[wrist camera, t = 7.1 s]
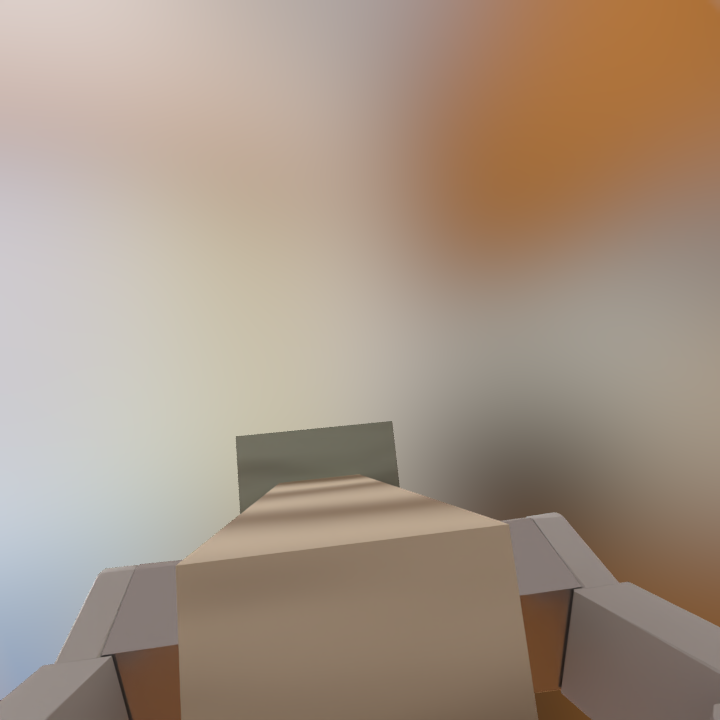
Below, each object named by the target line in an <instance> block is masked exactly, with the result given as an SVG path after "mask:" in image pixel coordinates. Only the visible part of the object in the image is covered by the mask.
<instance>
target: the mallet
mask: <svg viewBox="0 0 720 720" xmlns="http://www.w3.org/2000/svg"><path fill="white" fill-rule="evenodd" d="M236 449H237V465H238V482H239V500H240V515H239V516H237V517H236V518H235V519H234V520H232V521H231V522H230V523H229V524H227V525H226V526H225V527H224V528H222V529H221V530H220V531H219V532H217V533H216V534H215V535H214V536H212V537H211V538H210V539H209V540H207V541H206V542H205V543H204V544H202V545H201V546H200V547H199V548H197V549H196V550H195V551H193V552H192V553H191V554H190V555H188V556H187V557H186V558H185V559H183V560H182V561H181V562H180V563H178V564H177V565H176V589H177V617H178V645H179V672H180V700H181V720H538V716H537V710H536V703H535V696H534V689H533V682H532V675H531V669H530V662H529V655H528V649H527V642H526V635H525V629H524V622H523V615H522V608H521V602H520V595H519V588H518V582H517V575H516V568H515V561H514V555H513V548H512V541H511V535H510V528H509V524H507V523H504V522H501V521H498V520H495V519H492V518H488V517H486V516H483V515H480V514H477V513H474V512H471V511H468V510H465V509H462V508H459V507H455V506H453V505H450V504H447V503H444V502H441V501H438V500H435V499H432V498H429V497H426V496H423V495H420V494H417V493H414V492H411V491H408V490H405V489H402V488H400V487H399V477H398V469H397V460H396V451H395V443H394V433H393V425H392V421H389V422H379V423H368V424H359V425H348V426H338V427H329V428H317V429H307V430H297V431H287V432H276V433H266V434H257V435H247V436H236Z"/></svg>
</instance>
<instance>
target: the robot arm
mask: <svg viewBox="0 0 720 720" xmlns="http://www.w3.org/2000/svg"><path fill="white" fill-rule="evenodd" d="M501 522H504V523H507V524H509V528H510V535H511V541H512V548H513V555H514V561H515V568H516V575H517V582H518V588H519V595H520V602H521V608H522V615H523V622H524V629H525V635H526V642H527V649H528V655H529V662H530V669H531V675H532V682H533V689H534V693H538V692H545V691H553V690H560V689H561V693H562V694H563V695H564V696H565V697H566V698H568V699H569V700H570V701H571V702H572V703H574V704H575V705H576V706H577V707H578V708H579V709H580V710H582V711H583V712H584V713H585V714H586V715H587V716H588V717H590V718H591V719H592V720H720V627H718V626H716V625H714V624H712V623H710V622H708V621H706V620H704V619H702V618H700V617H698V616H696V615H694V614H692V613H690V612H688V611H686V610H684V609H682V608H680V607H678V606H676V605H674V604H672V603H670V602H668V601H666V600H664V599H662V598H660V597H658V596H656V595H654V594H652V593H650V592H648V591H646V590H644V589H642V588H640V587H638V586H636V585H634V584H632V583H630V582H624V583H619V582H618V581H617V580H616V579H615V578H614V576H613V575H612V574H611V573H610V572H609V570H608V569H607V568H606V567H605V566H604V564H603V563H602V562H601V561H600V560H599V559H598V557H597V556H596V555H595V554H594V553H593V551H592V550H591V549H590V548H589V547H588V546H587V544H586V543H585V542H584V541H583V540H582V539H581V537H580V536H579V535H578V534H577V533H576V531H575V530H574V529H573V528H572V527H571V525H570V524H569V523H568V522H567V521H566V519H565V518H564V517H563V516H562V515H560V514H558V513H556V512H555V513H548V514H541V515H535V516H528V517H526V518H519V519H512V520H504V521H501ZM181 561H182V560H178V561H168V562H159V563H149V564H140V565H139V566H138V565H133V566H124V567H115V568H106V569H104V570H103V571H102V572H101V573H99V574H98V576H97V577H96V579H95V581H94V583H93V585H92V587H91V590H90V592H89V594H88V596H87V598H86V600H85V602H84V604H83V606H82V608H81V610H80V612H79V614H78V616H77V618H76V621H75V622H74V624H73V626H72V629H71V631H70V633H69V635H68V637H67V639H66V641H65V643H64V645H63V647H62V649H61V651H60V653H59V655H58V657H57V659H56V661H55V663H54V664H51V665H44V666H42V667H40V668H39V669H38V670H37V671H36V672H34V673H33V674H32V675H31V676H30V677H28V678H27V679H26V680H25V681H24V682H23V683H21V684H20V685H19V686H18V687H17V688H15V689H14V690H13V691H12V692H11V693H10V694H8V695H7V696H6V697H5V698H3V699H2V700H1V701H0V720H181V700H180V672H179V645H178V617H177V589H176V565H177V564H178V563H180V562H181Z"/></svg>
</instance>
